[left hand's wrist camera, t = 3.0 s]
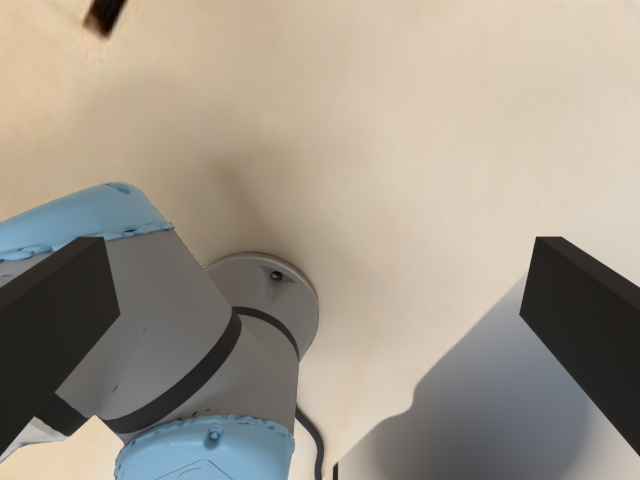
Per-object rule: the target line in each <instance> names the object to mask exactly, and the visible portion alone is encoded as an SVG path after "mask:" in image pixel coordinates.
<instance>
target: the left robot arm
mask: <svg viewBox="0 0 640 480" xmlns="http://www.w3.org/2000/svg"><path fill="white" fill-rule="evenodd" d="M174 228H175V227H174V226H173V224H172V223H171V222H167V221H166V219H165V218H164V217H163V216H162V215H161V214H160V212H159V211H158V210H157V209H156V208H155V207H154V205H153V204H152V203H151V202H150V201H149V200H148V198H147V197H146V196H145V195H144V194H143V192H141V191H140V190H139V189H138V188H136V187H135V186H133V185H130V184H127V183H122V182H110V183H104V184H100V185H97V186H93V187H90V188H87V189H84V190H81V191H78V192H75V193H73V194H70V195H67V196H64V197H62V198H59V199H56V200H54V201H51V202H49V203H46V204H44V205H41V206H39V207H36V208H34V209H31V210H29V211H26V212H24V213H22V214H19V215H17V216H15V217H12V218H10V219H8V220H5V221H3V222H1V223H0V463H2V462H3V461H4V460H5V459H6V458H7V457H9V456H10V455H11V454H12V453H13V452H14V451H16V450H17V449H18V448H20V447H23V446H26V445H29V444H38V443H47V442H57V441H64V440H66V439H67V438H68V437H70V436H71V435H72V434H73V433H74V432H75V431H77V430H78V429H79V428H80V427H81V426H82V425H83V424H84V423H85V422H86V421H88V420H89V419H90V418H91V417H92V416H93V415H97V416H98V418H99V419H101V420H102V421H103V422H104V423H105V424H106V425H107V426H108V427H109V428H110V429H111V430H112V431H113V432H114V433H115V434H116V435H117V436H118V437H119V438H120V439H121V440H122V441H123V443H124V447H123V448H122V449H121V450H120V452H119V454H118V456H117V458H116V461H115V466H116V468H115V471H114V477H115V480H287V479H288V474H289V468H290V462H291V457H292V454H293V453H294V449H295V442H294V440H295V439H293V435H294V421H295V418H296V419H297V420H298V421H299V422H300V423H301V424H302V425H303V426H304V427H305V428H306V429H307V431H308V432H309V433H310V434H311V435H312V437H313V439H314V441H315V443H316V446H317V459H316V464H315V480H322V478H321V467H322V462H323V456H324V447H323V442H322V440H321V437H320V435H319V434H318V432H317V431H316V429H315V428H314V427H313V426H312V425H311V424H310V423H309V422H308V421H307V420H306V418H305V417H304V416H303V415H302V414H301V413H300V412H299V410H298V409H297V407H296V396H297V383H298V370H299V363H300V361H301V359H302V357H303V356H304V354H305V353H306V351H307V350H308V348H309V347H310V345H311V344H312V342H313V340H314V337H315V335H316V332H317V328H318V317H319V309H318V301H317V297H316V294H315V292H314V289H313V287H312V286H311V284H310V282H309V281H308V279H307V278H306V277H305V276H304V275H303V274H302V273H301V272H300V271H299V270H298V269H297V268H296V267H294V266H293V265H291V264H290V263H288V262H286V261H284V260H283V259H280V258H278V257H275V256H272V255H268V254H264V253H257V252H244V253H237V254H232V255H229V256H226V257H223V258H221V259H219V260H217V261H215V262H214V263H212V264H211V265H210V266H208V267H207V268H206V269H205V270H203V268H202V267H201V266H200V264H199V263H198V262H197V260H196V259H195V258H194V256H193V255H192V254H191V252H190V251H189V250H188V249H187V247H186V246H185V245H184V243H183V242H182V240H181V239H180V238H179V236H178V235H177V234H176V232H175V231H174ZM519 315H520V316H521V317H522V318H523V320H524V321H525V322H526V323H527V324H528V325H529V327H530V328H531V329H532V330H533V331H534V333H535V334H536V335H537V336H538V337H539V338H540V340H541V341H542V342H543V343H544V344H545V346H546V347H547V348H548V349H549V350H550V351H551V353H552V354H553V355H554V356H555V357H556V358H557V360H558V361H559V362H560V363H561V364H562V366H563V367H564V368H565V369H566V370H567V371H568V373H569V374H570V375H571V376H572V377H573V379H574V380H575V381H576V382H577V383H578V384H579V386H580V387H581V388H582V389H583V390H584V391H585V393H586V394H587V395H588V396H589V397H590V399H591V400H592V401H593V402H594V403H595V404H596V406H597V407H598V408H599V409H600V410H601V412H602V413H603V414H604V415H605V416H606V417H607V419H608V420H609V421H610V422H611V423H612V424H613V426H614V427H615V428H616V429H617V430H618V431H619V433H620V434H621V435H622V436H623V437H624V439H625V440H626V441H627V442H628V443H629V445H630V446H631V447H632V448H633V449H634V450H635V452H636V453H637V454H638V455H639V456H640V287H638V286H636V285H635V284H633V283H632V282H630V281H629V280H627V279H626V278H624V277H623V276H621V275H620V274H618V273H617V272H615V271H613V270H612V269H610V268H609V267H607V266H606V265H604V264H603V263H601V262H600V261H598V260H596V259H595V258H593V257H592V256H590V255H589V254H587V253H586V252H584V251H583V250H581V249H580V248H578V247H576V246H575V245H573V244H572V243H570V242H569V241H567V240H566V239H564V238H563V237H536V240H535V244H534V249H533V254H532V258H531V263H530V267H529V272H528V277H527V281H526V286H525V291H524V295H523V300H522V305H521V309H520V314H519ZM333 480H338V462H337V463H336V464H335V465H334V466H333Z"/></svg>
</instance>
